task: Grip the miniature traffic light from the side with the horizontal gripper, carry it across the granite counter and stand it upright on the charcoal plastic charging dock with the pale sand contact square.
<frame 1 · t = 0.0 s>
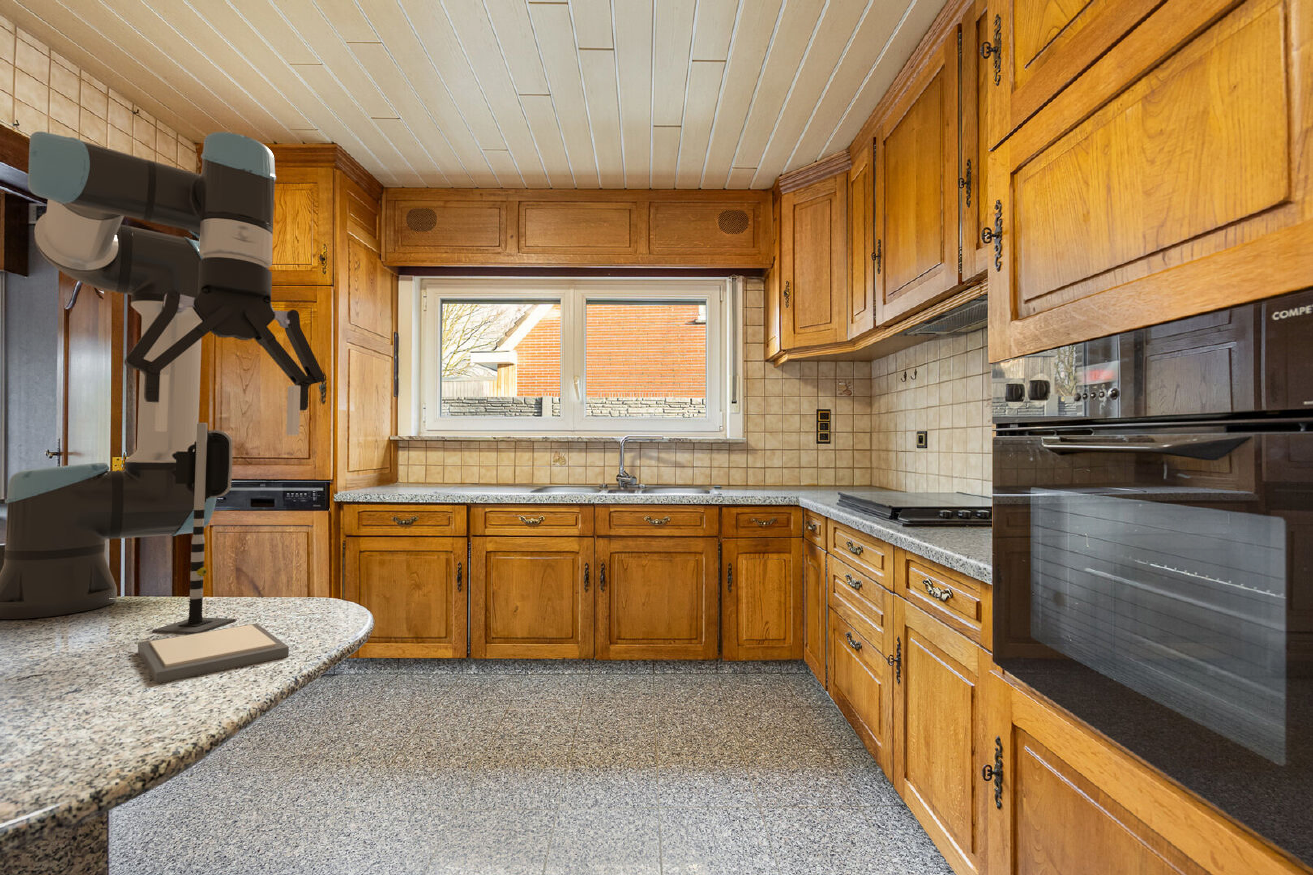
hand: (230, 433, 75), 28 cm above the counter, tool pointing down, fingers open, 13 cm apart
charging dock: (212, 654, 77), on the counter
miniature traffic light: (195, 627, 89), on the counter
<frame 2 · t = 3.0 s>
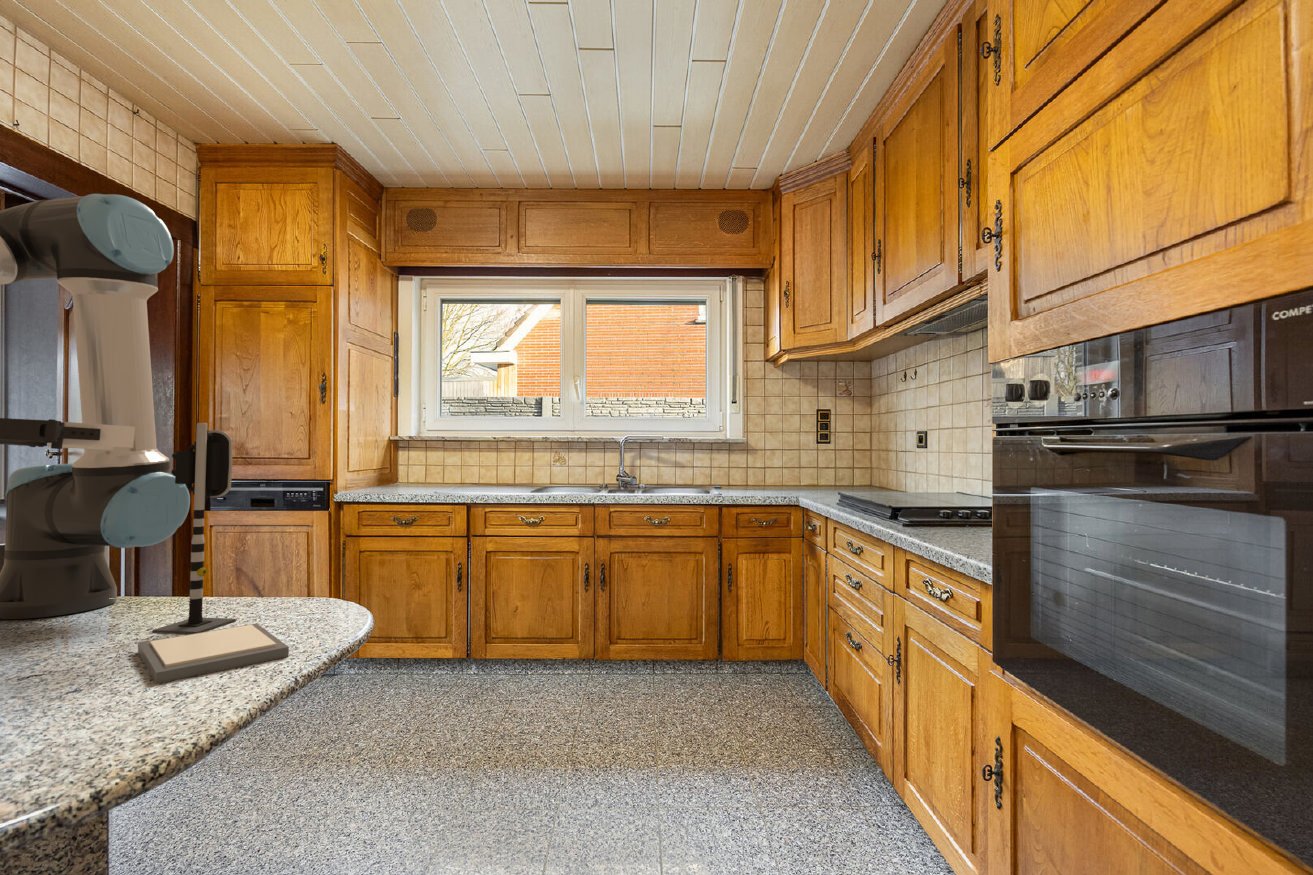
hand: (123, 438, 83), 27 cm above the counter, tool horizontal, fingers open, 13 cm apart
nothing on the counter moved.
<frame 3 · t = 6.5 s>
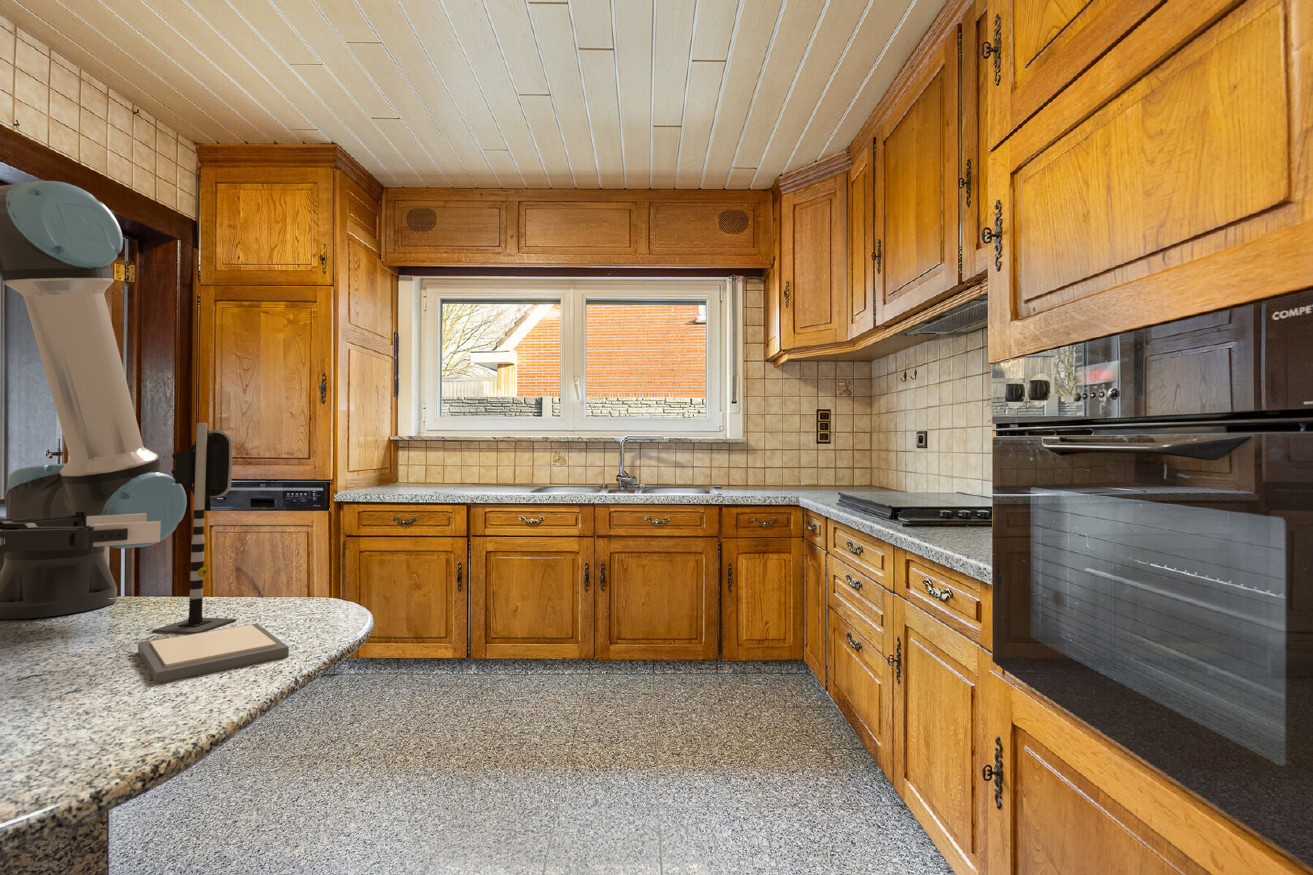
hand: (153, 526, 86), 15 cm above the counter, tool horizontal, fingers open, 13 cm apart
nothing on the counter moved.
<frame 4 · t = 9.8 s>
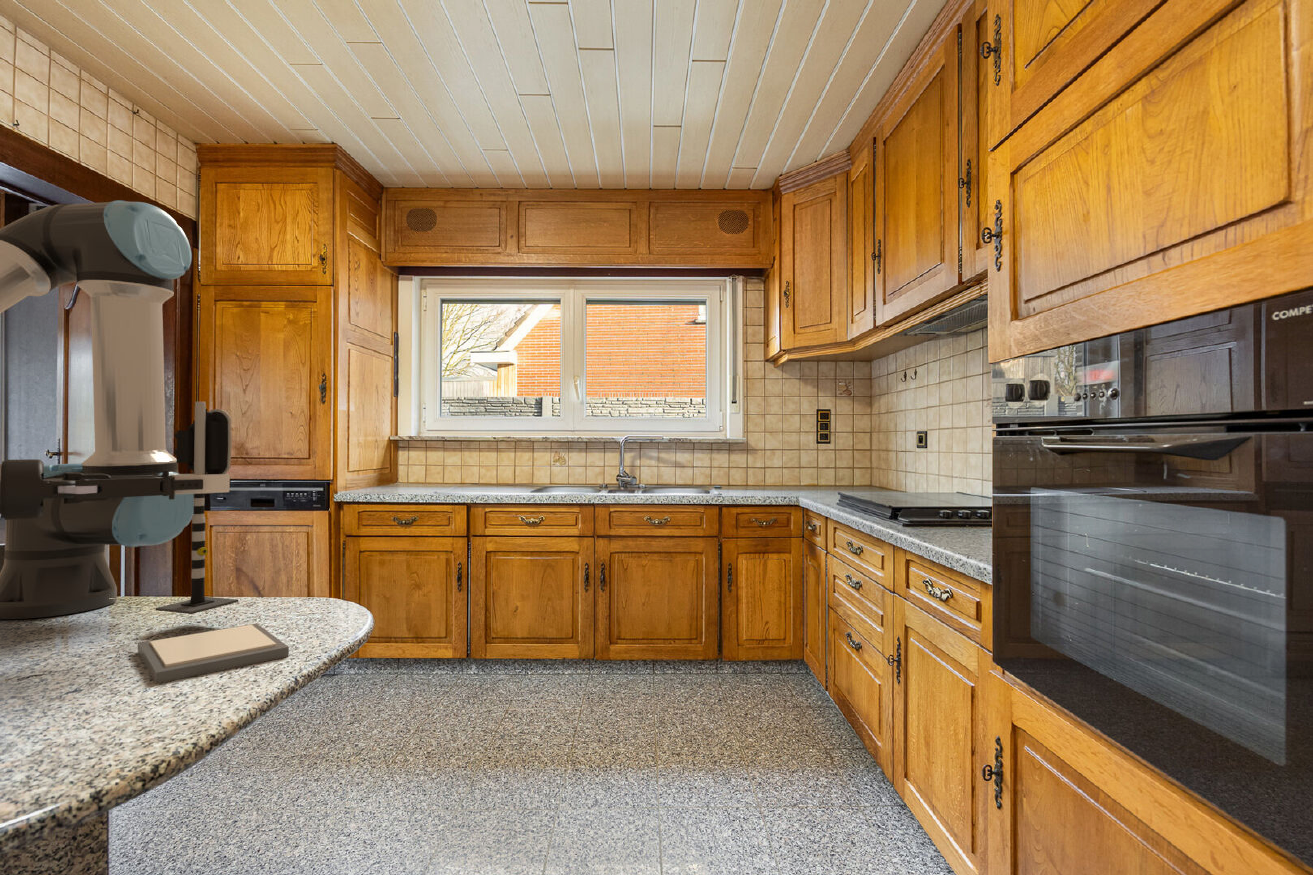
hand: (226, 482, 92), 21 cm above the counter, tool horizontal, fingers closed on miniature traffic light, 2 cm apart
miniature traffic light: (198, 606, 89), point 3 cm above the counter, touching gripper
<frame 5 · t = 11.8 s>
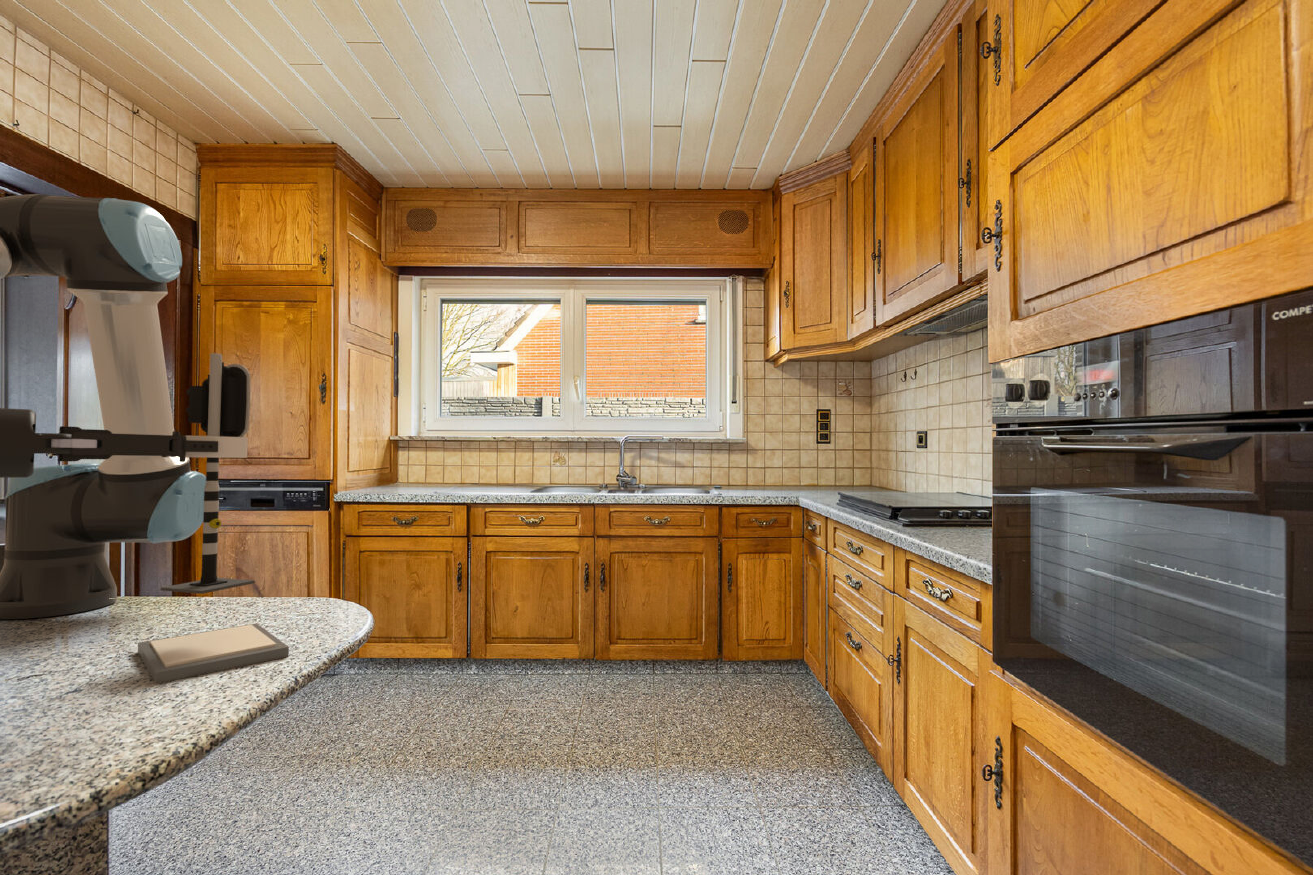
hand: (243, 447, 81), 26 cm above the counter, tool horizontal, fingers closed on miniature traffic light, 2 cm apart
miniature traffic light: (209, 587, 78), point 8 cm above the counter, touching gripper
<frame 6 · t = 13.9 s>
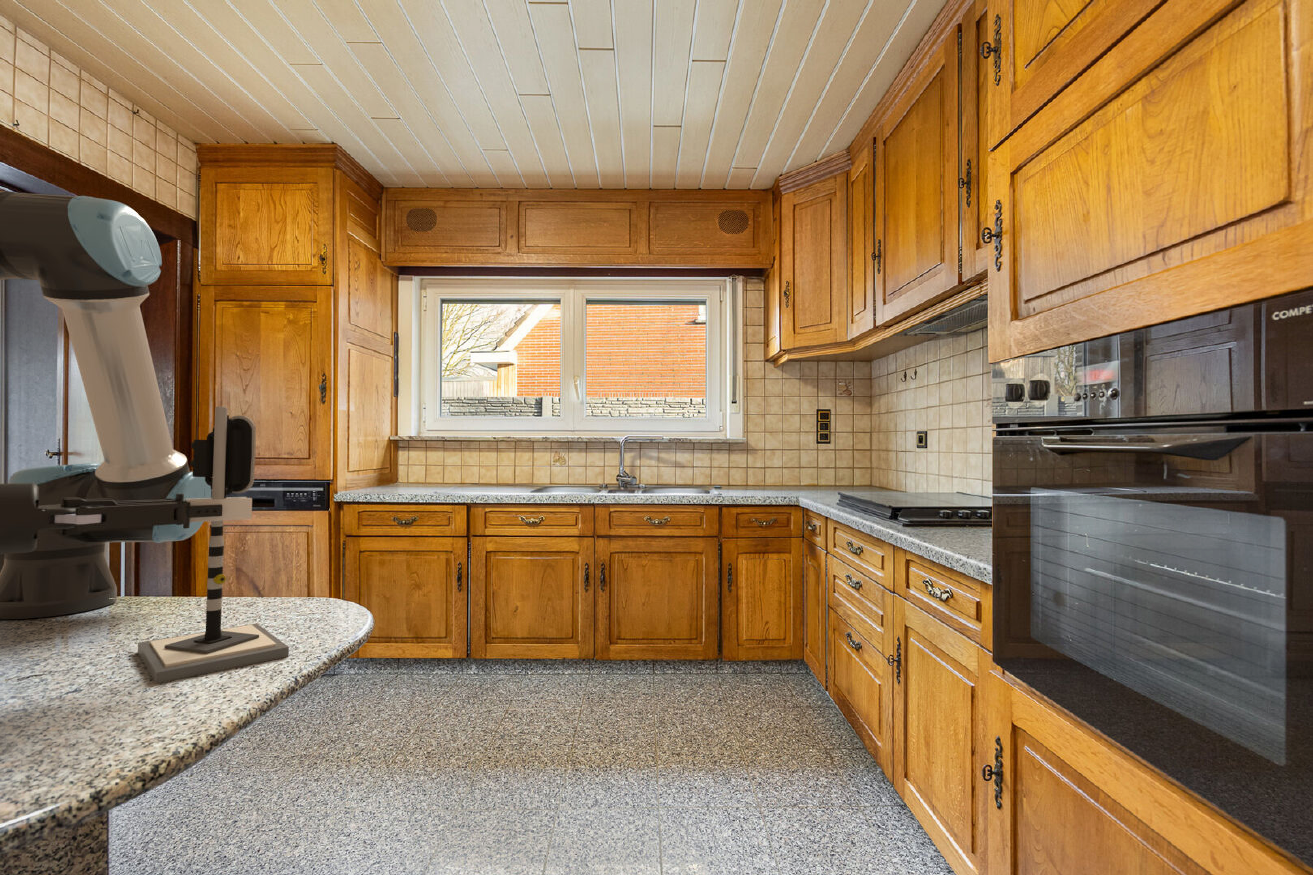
hand: (247, 507, 81), 18 cm above the counter, tool horizontal, fingers closed on miniature traffic light, 2 cm apart
miniature traffic light: (213, 643, 77), point 1 cm above the counter, touching charging dock, gripper
when the fingers open (18 cm above the counter, at t = 14.0 s): miniature traffic light stays where it is, resting on charging dock.
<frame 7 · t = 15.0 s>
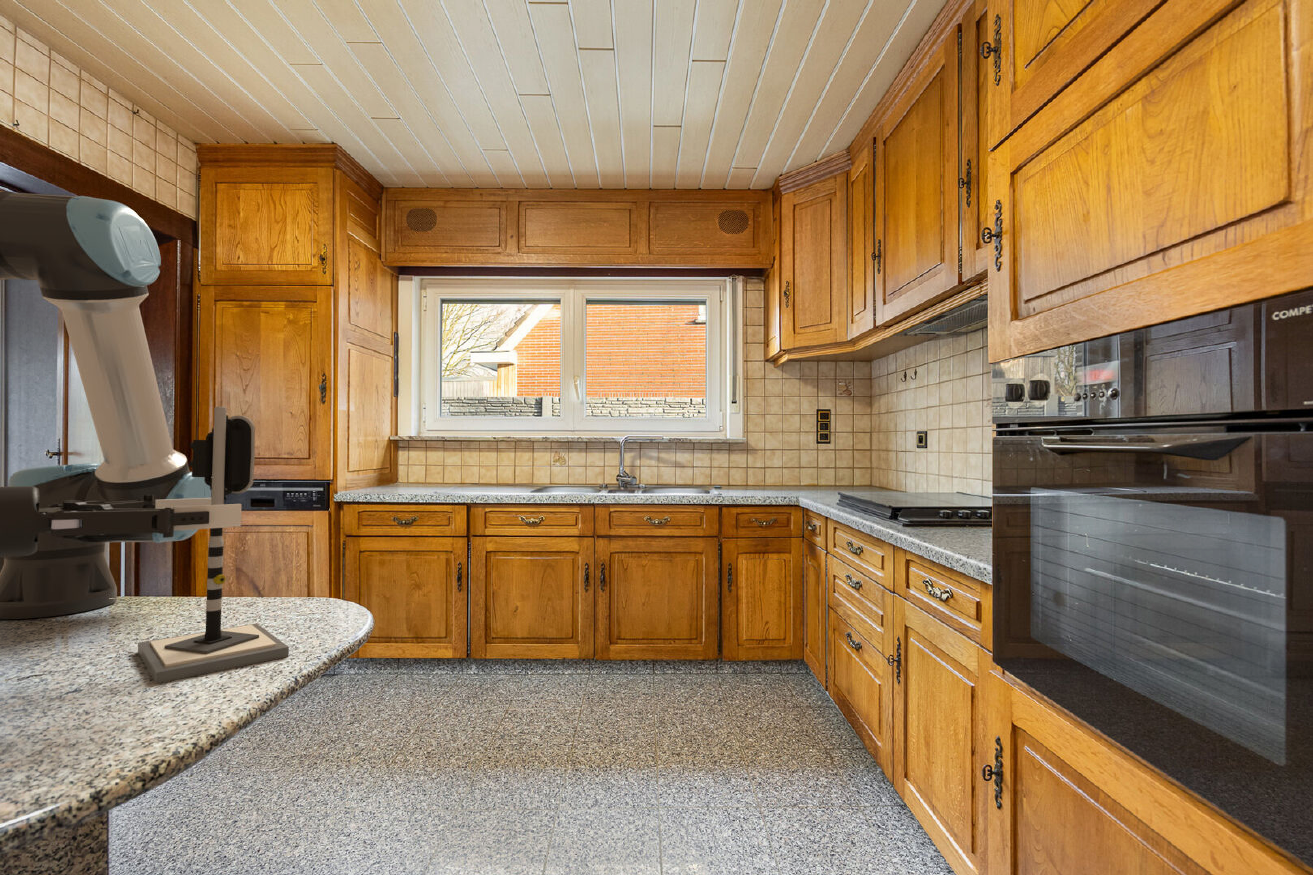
hand: (227, 511, 79), 18 cm above the counter, tool horizontal, fingers open, 13 cm apart
miniature traffic light: (213, 643, 77), point 1 cm above the counter, touching charging dock
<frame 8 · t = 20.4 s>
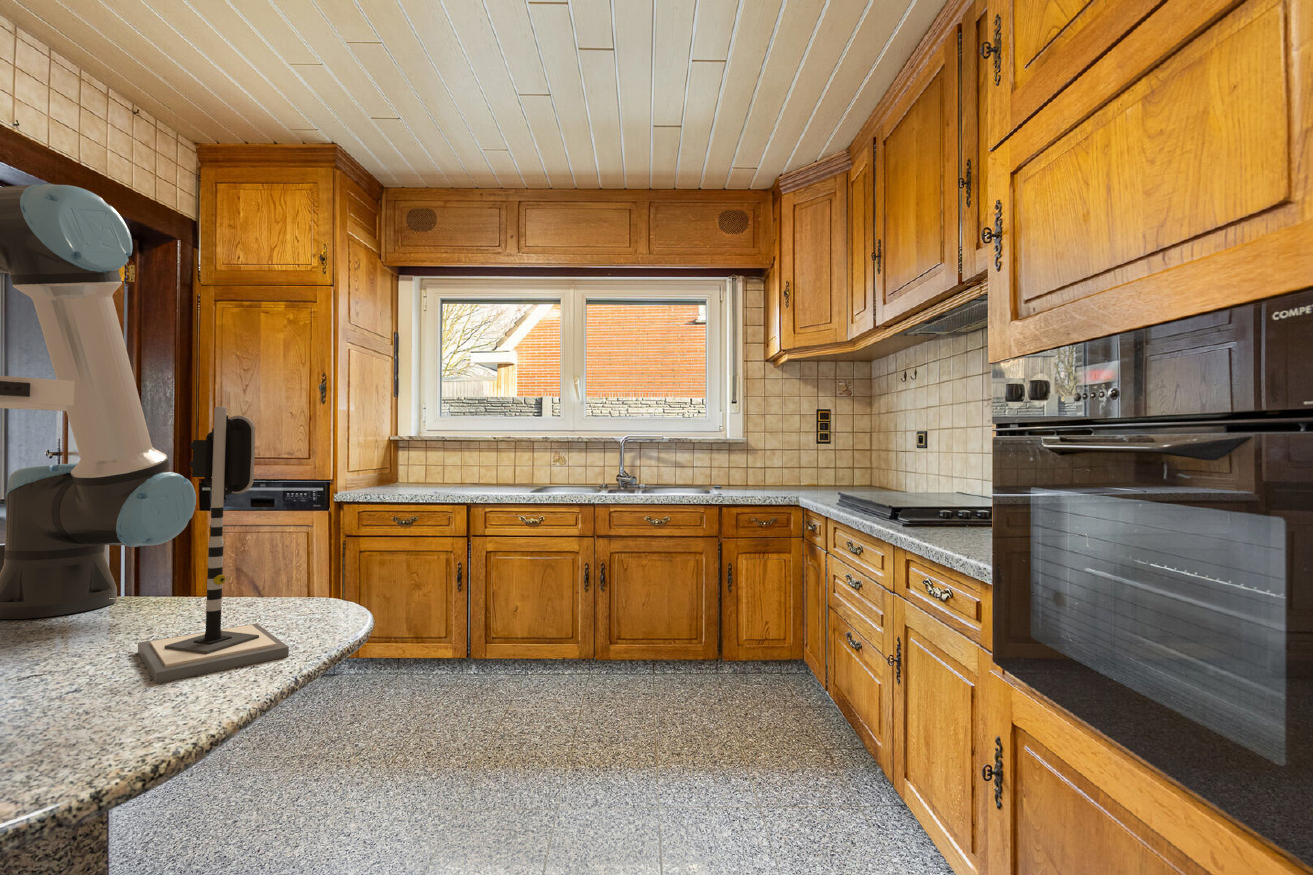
hand: (70, 397, 71), 32 cm above the counter, tool horizontal, fingers open, 13 cm apart
nothing on the counter moved.
at the end: miniature traffic light inside the target area on the charging dock (0.1 cm from its centre), point 1.3 cm above the charging dock's base; miniature traffic light tilted 0°; the gripper is holding nothing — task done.
